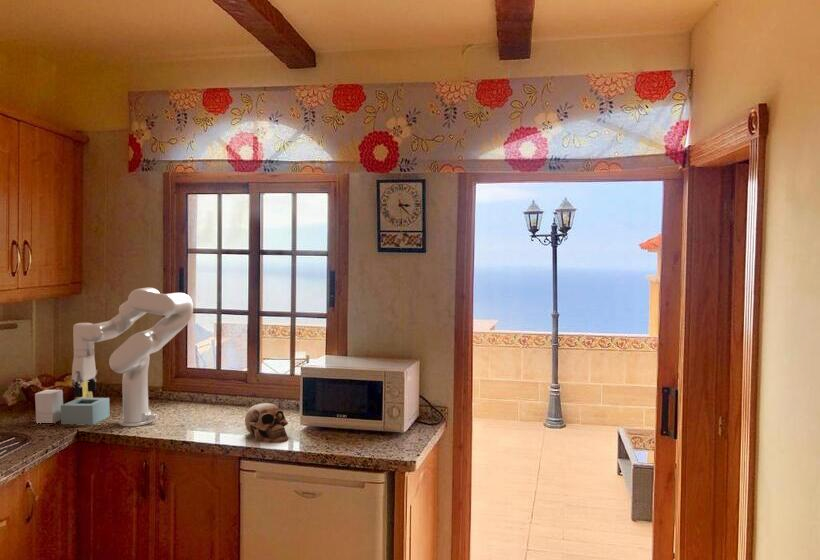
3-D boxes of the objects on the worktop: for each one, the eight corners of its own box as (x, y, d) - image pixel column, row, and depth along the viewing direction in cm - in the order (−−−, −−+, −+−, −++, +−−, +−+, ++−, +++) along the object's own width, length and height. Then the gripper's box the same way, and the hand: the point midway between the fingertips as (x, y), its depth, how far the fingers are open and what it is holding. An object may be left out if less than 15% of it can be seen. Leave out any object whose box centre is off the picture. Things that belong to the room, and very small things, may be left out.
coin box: (109, 416, 262) (109, 397, 261) (92, 425, 249) (92, 405, 248) (79, 416, 262) (79, 397, 262) (61, 425, 249) (60, 405, 249)
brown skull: (285, 442, 226) (281, 406, 226) (239, 446, 227) (235, 410, 227) (295, 431, 242) (292, 397, 241) (252, 435, 243) (248, 401, 243)
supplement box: (64, 419, 257) (63, 389, 257) (52, 424, 250) (51, 393, 249) (47, 419, 258) (46, 389, 257) (35, 424, 251) (34, 393, 250)
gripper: (87, 349, 263) (88, 389, 264) (62, 356, 245) (63, 399, 246) (104, 349, 262) (105, 389, 263) (81, 356, 245) (82, 399, 246)
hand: (85, 394), depth 255 cm, fingers open, 9 cm apart
